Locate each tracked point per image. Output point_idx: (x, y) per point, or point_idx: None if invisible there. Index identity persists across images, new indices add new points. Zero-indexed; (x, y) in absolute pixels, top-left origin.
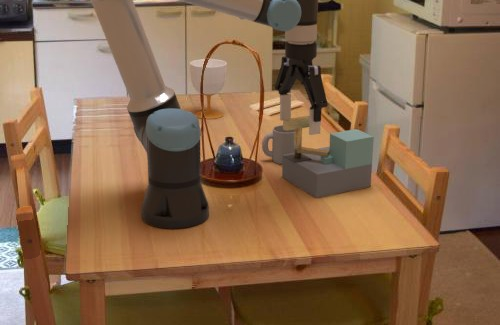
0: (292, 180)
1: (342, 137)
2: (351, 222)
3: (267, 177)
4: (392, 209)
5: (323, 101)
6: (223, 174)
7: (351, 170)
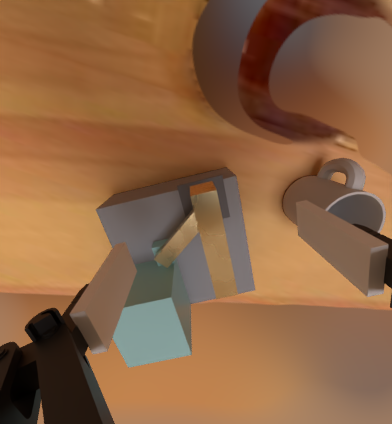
0: (190, 177)
1: (133, 313)
2: (5, 214)
3: (233, 138)
4: (58, 282)
5: (21, 401)
6: (282, 40)
7: None
